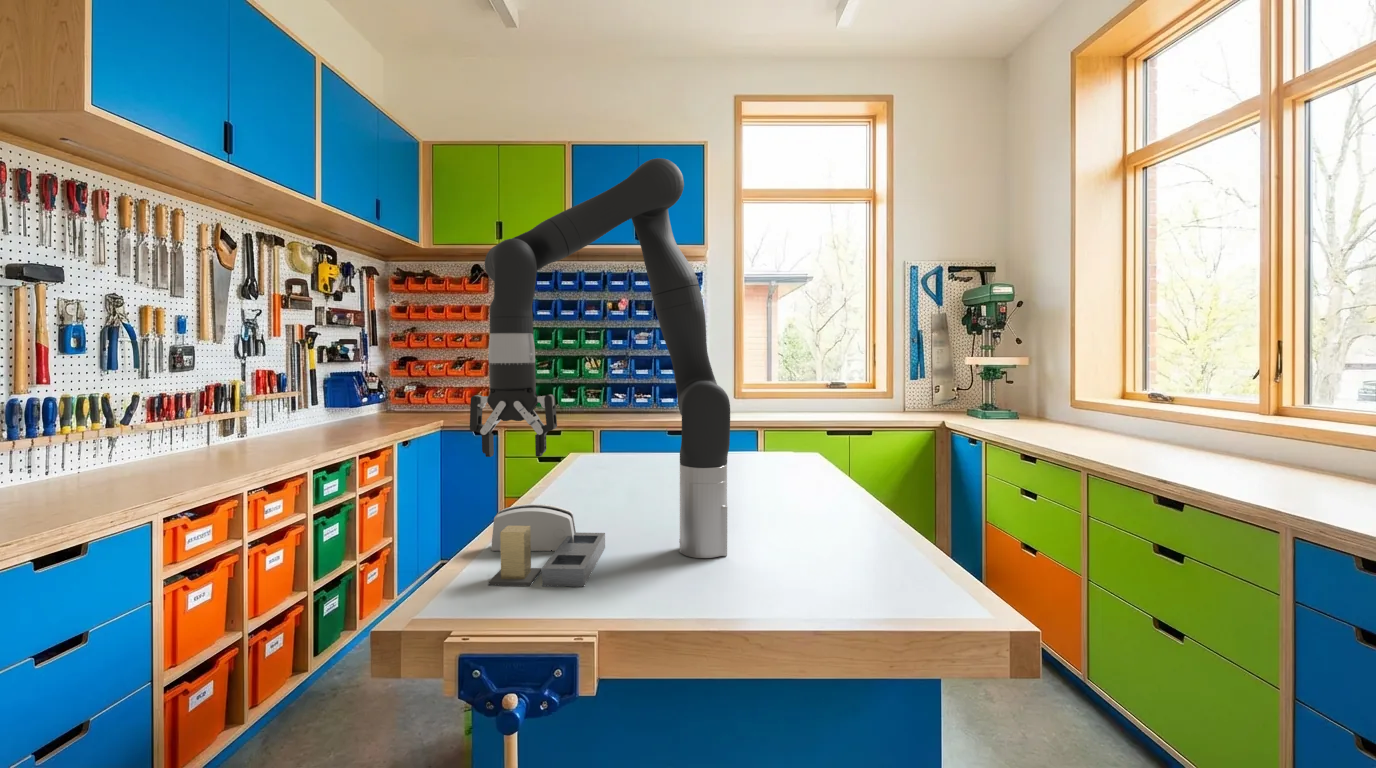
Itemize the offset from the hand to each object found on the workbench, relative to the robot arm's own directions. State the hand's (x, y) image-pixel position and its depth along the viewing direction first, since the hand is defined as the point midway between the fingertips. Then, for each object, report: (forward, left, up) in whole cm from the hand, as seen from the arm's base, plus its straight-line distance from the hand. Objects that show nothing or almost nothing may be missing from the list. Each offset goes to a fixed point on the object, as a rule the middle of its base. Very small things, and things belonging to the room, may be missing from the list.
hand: (514, 456), depth 108 cm
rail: (-9, -7, -21) cm, 24 cm away
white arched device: (+1, -16, -22) cm, 27 cm away
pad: (0, 0, -21) cm, 21 cm away
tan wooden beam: (0, 0, -21) cm, 21 cm away
